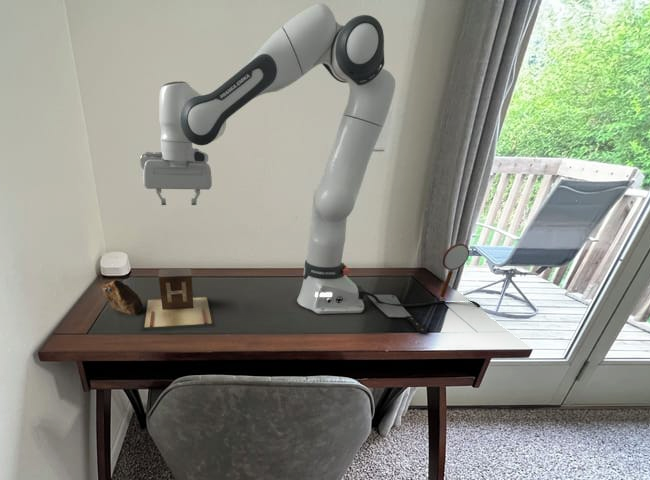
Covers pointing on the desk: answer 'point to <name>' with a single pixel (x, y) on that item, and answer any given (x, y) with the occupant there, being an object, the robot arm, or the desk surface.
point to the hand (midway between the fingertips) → (178, 204)
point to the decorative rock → (122, 297)
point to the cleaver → (396, 310)
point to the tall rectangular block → (176, 288)
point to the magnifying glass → (454, 261)
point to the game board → (177, 314)
